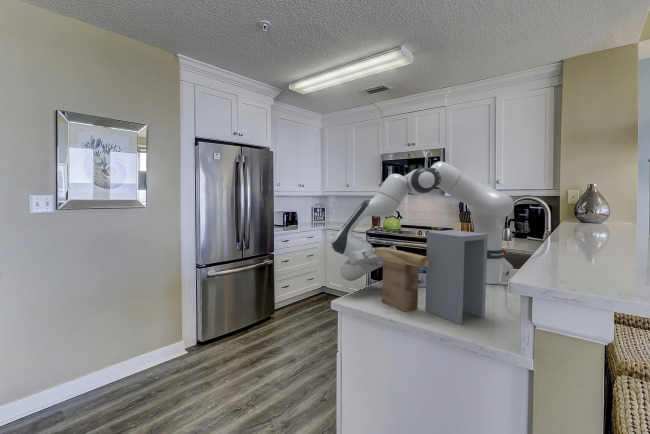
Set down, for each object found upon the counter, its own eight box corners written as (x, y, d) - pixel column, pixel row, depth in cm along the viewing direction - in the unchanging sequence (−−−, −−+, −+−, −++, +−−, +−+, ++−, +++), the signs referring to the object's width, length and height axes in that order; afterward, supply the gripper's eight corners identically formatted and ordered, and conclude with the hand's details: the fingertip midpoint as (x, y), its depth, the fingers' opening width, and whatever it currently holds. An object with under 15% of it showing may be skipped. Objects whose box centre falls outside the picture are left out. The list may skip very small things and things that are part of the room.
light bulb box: (430, 287, 131) (430, 261, 130) (413, 286, 132) (413, 261, 132) (427, 280, 141) (427, 256, 141) (411, 280, 143) (411, 256, 142)
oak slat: (383, 254, 120) (383, 247, 120) (428, 266, 101) (428, 257, 100) (376, 255, 118) (376, 247, 118) (419, 267, 99) (420, 258, 99)
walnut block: (395, 299, 117) (396, 257, 116) (417, 308, 107) (418, 262, 106) (382, 301, 114) (382, 258, 113) (403, 311, 104) (404, 264, 103)
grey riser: (450, 304, 111) (452, 229, 109) (484, 316, 100) (487, 234, 98) (425, 310, 105) (427, 231, 103) (458, 324, 94) (461, 236, 92)
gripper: (340, 256, 123) (358, 242, 113) (382, 251, 133) (402, 238, 122) (345, 272, 121) (363, 259, 110) (387, 266, 131) (408, 254, 120)
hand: (384, 248), depth 116 cm, fingers open, 7 cm apart
